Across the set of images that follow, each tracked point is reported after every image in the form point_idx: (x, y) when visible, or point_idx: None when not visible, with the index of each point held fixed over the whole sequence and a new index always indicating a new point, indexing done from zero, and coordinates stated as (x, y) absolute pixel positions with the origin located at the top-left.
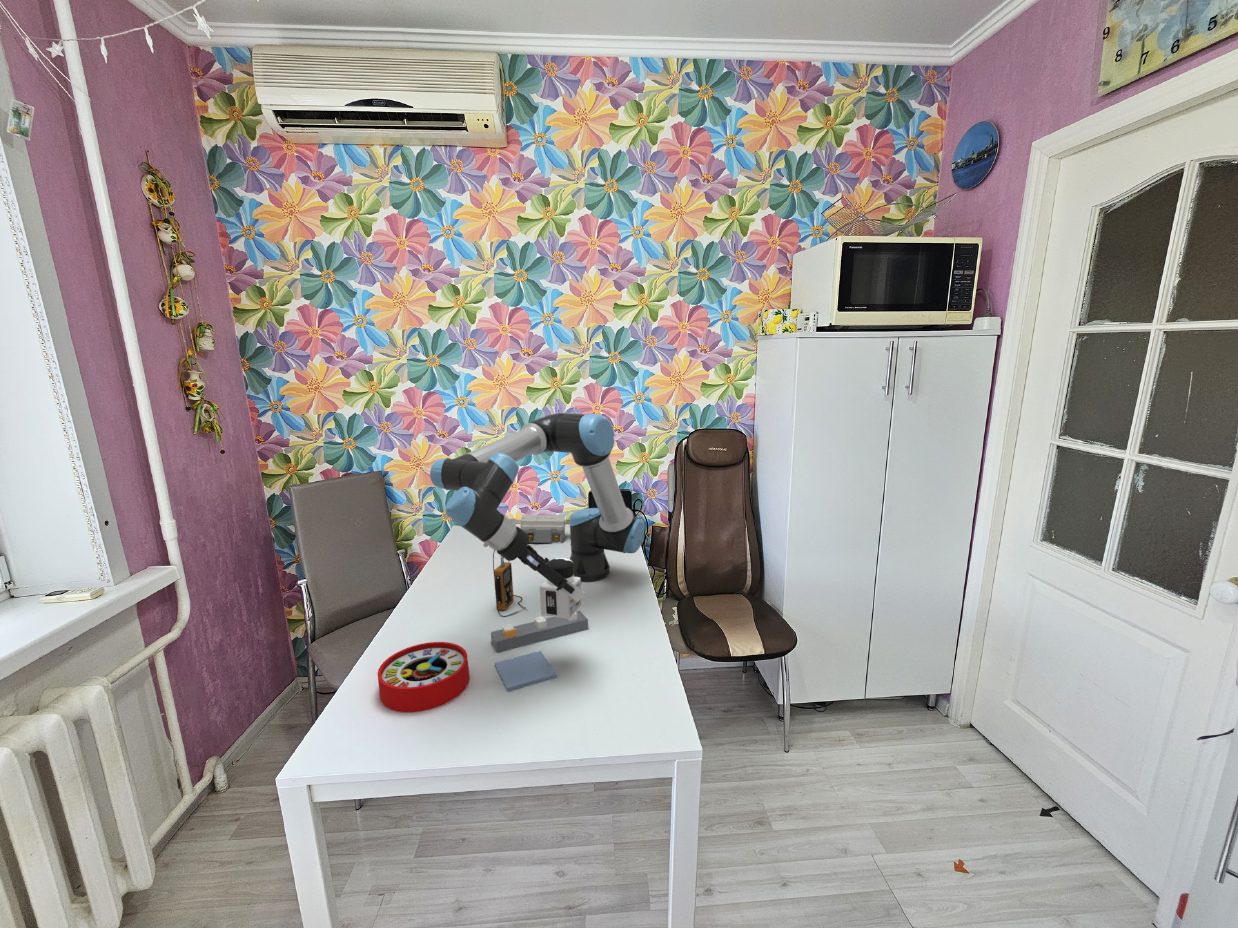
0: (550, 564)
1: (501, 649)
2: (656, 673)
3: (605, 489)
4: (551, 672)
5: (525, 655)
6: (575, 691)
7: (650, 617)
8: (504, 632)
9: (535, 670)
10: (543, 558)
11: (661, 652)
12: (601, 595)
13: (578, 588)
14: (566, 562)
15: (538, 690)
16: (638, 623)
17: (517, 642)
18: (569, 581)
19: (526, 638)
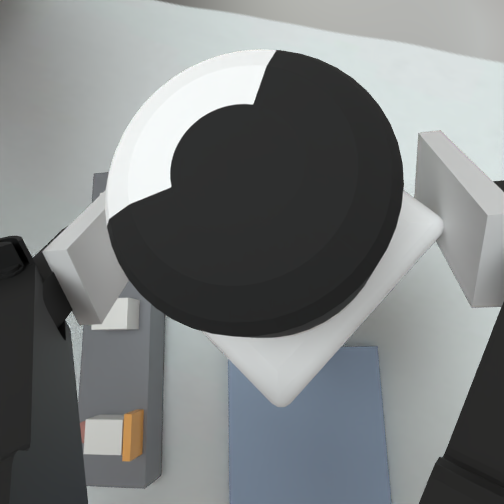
0: (270, 296)
1: (159, 460)
2: (473, 88)
3: None
4: (362, 357)
5: (232, 401)
6: (474, 319)
7: (194, 11)
8: (130, 460)
9: (330, 400)
10: (430, 485)
11: (377, 43)
12: (16, 90)
13: (459, 151)
14: (317, 107)
15: (425, 420)
16: (208, 49)
17: (155, 405)
18: (501, 192)
19: (155, 375)
